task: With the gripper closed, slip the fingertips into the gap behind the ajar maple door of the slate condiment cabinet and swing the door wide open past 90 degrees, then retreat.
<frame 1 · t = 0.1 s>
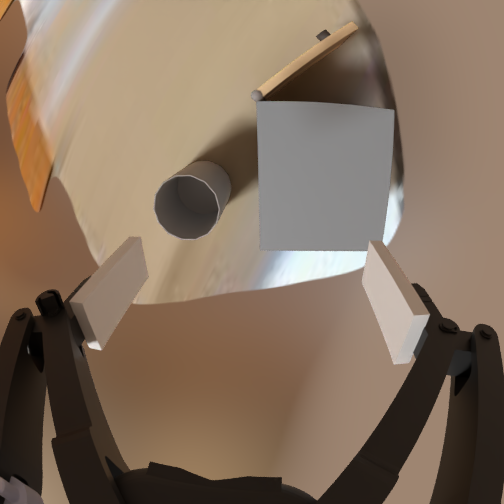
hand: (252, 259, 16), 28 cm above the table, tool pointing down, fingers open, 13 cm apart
cabinet: (311, 160, 40), on the table
door: (297, 62, 29), point 6 cm above the table, hinge at 40.0°
cup: (204, 187, 43), on the table
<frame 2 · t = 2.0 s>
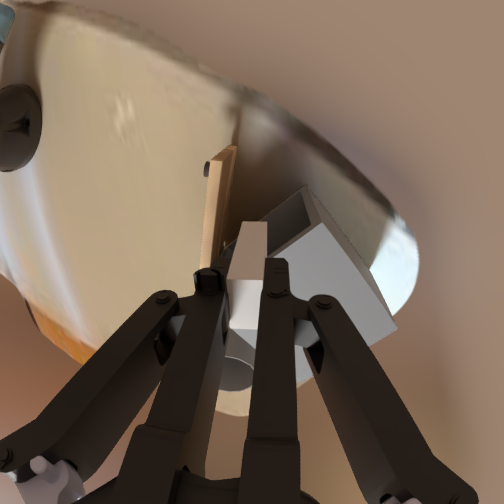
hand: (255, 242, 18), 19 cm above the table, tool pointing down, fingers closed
cabinet: (300, 259, 40), on the table
door: (211, 215, 31), point 6 cm above the table, hinge at 40.0°
cup: (235, 328, 47), on the table
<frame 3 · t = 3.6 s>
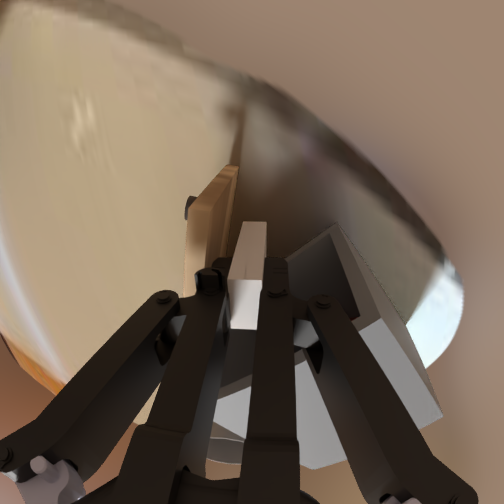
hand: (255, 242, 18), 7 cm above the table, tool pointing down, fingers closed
cabinet: (321, 317, 30), on the table
door: (200, 276, 21), point 6 cm above the table, hinge at 40.0°, touching gripper
cup: (236, 387, 37), on the table
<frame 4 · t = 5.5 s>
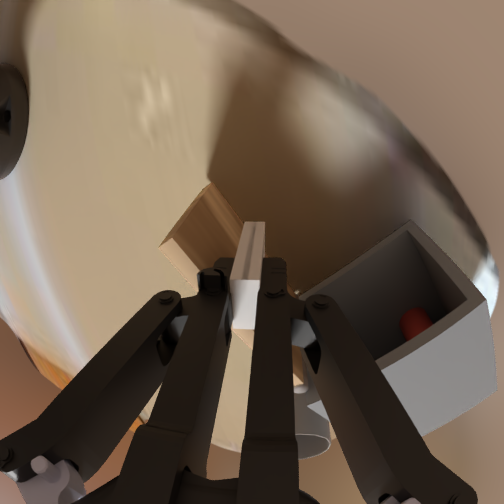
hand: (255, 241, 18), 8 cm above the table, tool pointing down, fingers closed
cabinet: (386, 308, 30), on the table
door: (245, 287, 22), point 6 cm above the table, hinge at 84.0°, touching gripper
cup: (292, 383, 37), on the table
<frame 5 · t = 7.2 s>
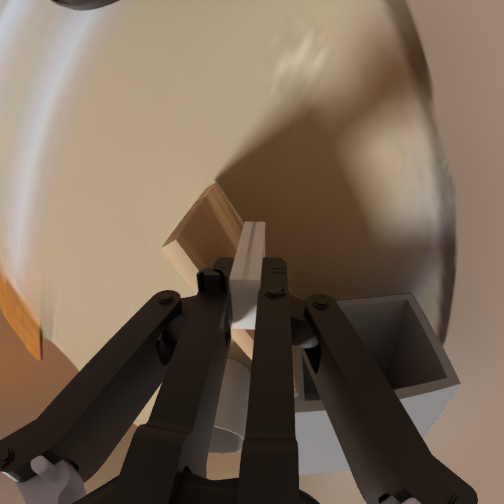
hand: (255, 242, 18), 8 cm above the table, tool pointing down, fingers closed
cabinet: (346, 351, 33), on the table
door: (242, 290, 22), point 6 cm above the table, hinge at 114.7°, touching gripper
cup: (221, 375, 36), on the table
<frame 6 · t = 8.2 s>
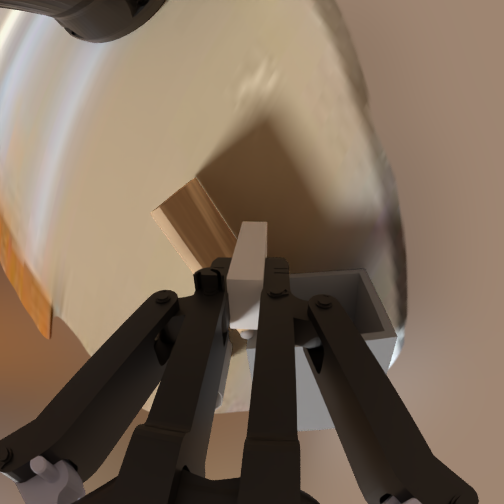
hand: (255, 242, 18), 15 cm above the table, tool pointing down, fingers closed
cabinet: (311, 321, 40), on the table
door: (212, 254, 29), point 6 cm above the table, hinge at 114.8°
cup: (205, 344, 43), on the table
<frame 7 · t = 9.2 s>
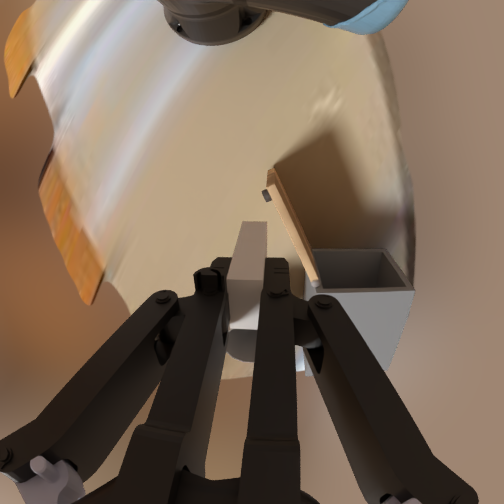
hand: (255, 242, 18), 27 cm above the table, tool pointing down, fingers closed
cabinet: (342, 289, 50), on the table
door: (288, 225, 39), point 6 cm above the table, hinge at 114.8°
cup: (253, 306, 53), on the table
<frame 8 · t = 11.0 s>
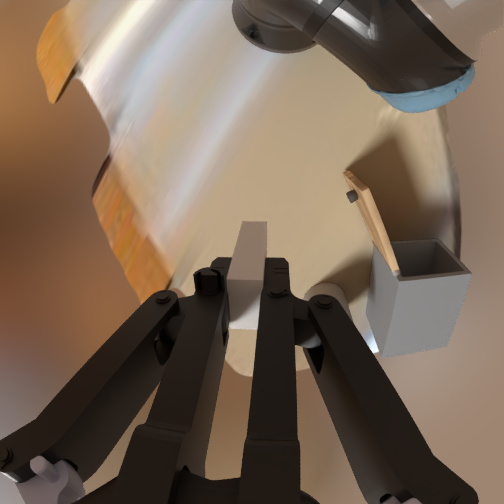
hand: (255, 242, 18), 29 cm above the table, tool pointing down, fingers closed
cabinet: (402, 277, 52), on the table
door: (368, 223, 41), point 6 cm above the table, hinge at 114.8°
cup: (324, 299, 56), on the table
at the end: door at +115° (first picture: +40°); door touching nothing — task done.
